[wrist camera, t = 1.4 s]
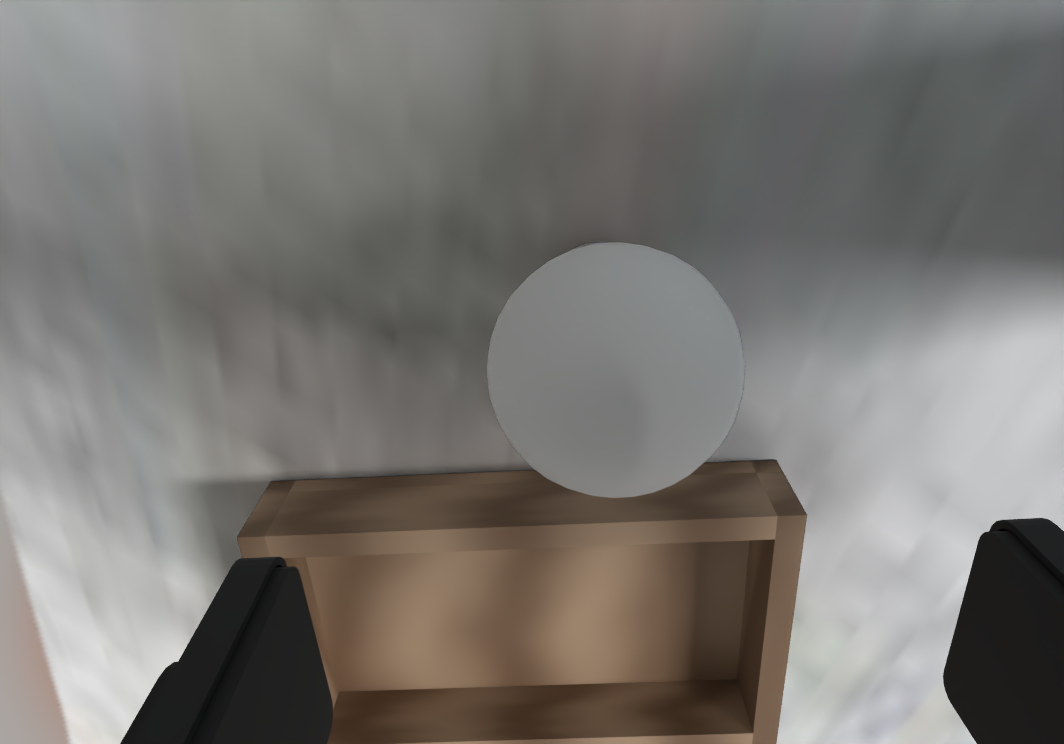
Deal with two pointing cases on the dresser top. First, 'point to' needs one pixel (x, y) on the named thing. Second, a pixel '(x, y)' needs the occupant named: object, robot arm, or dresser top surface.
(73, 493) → the dresser top surface
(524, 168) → the dresser top surface
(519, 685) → the walnut tray
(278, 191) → the dresser top surface
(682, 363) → the lightbulb
